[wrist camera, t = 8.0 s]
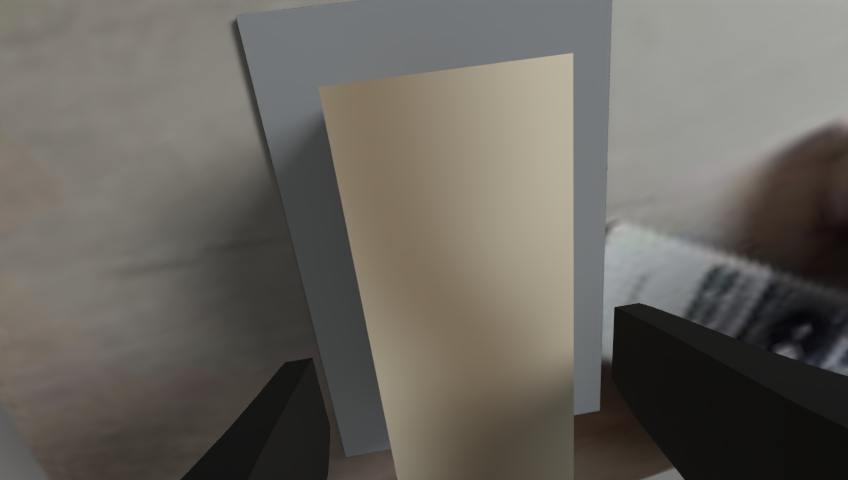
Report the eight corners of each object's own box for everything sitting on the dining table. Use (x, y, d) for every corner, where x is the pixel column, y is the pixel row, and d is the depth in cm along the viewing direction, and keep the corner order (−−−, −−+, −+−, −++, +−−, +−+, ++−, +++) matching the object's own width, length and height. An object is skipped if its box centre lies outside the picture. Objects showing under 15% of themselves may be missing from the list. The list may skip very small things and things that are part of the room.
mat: (608, -27, 14) (613, -30, 14) (596, 405, 20) (599, 410, 20) (238, 16, 13) (235, 14, 13) (346, 452, 19) (346, 457, 19)
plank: (495, 67, 11) (573, 52, 7) (518, 448, 15) (573, 584, 11) (340, 88, 11) (318, 87, 6) (411, 469, 15) (425, 616, 11)
